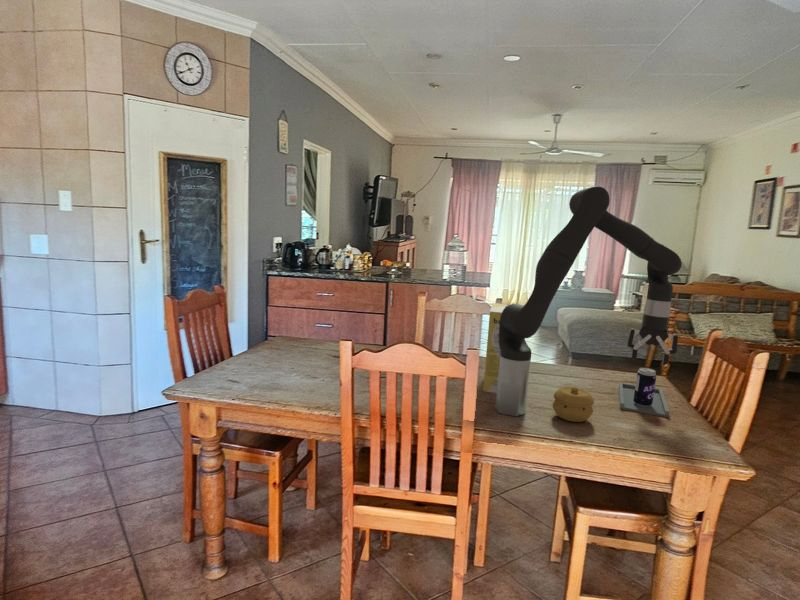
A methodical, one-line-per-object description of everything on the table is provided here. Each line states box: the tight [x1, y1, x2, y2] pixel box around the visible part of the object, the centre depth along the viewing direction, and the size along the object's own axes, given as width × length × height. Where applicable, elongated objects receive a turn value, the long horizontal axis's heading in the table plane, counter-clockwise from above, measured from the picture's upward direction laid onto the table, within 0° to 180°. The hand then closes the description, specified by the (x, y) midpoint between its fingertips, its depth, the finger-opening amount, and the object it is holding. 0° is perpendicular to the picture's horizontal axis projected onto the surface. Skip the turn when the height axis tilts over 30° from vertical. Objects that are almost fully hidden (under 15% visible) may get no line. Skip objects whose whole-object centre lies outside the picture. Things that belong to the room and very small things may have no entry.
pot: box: [552, 386, 595, 423], centre depth 153 cm, size 12×12×10 cm
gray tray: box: [618, 382, 670, 418], centre depth 173 cm, size 24×14×2 cm, turn 158°
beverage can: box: [633, 367, 657, 407], centre depth 166 cm, size 6×6×12 cm
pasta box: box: [482, 302, 509, 394], centre depth 179 cm, size 18×10×28 cm, turn 167°
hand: (649, 362), depth 164 cm, fingers open, 8 cm apart
